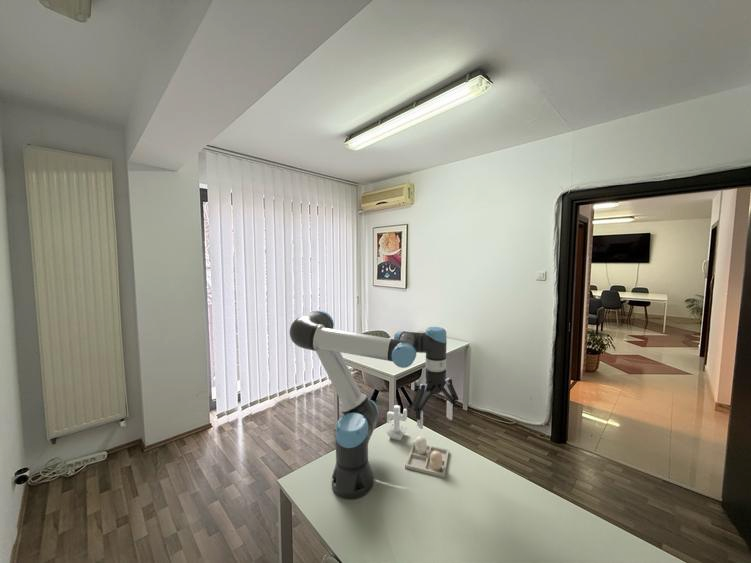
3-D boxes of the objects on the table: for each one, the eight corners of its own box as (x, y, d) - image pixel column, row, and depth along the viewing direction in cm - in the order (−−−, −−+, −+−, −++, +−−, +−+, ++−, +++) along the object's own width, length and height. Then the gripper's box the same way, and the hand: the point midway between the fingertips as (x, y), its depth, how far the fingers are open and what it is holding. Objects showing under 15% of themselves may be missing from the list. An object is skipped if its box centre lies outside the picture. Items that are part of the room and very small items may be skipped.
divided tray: (404, 469, 113) (404, 465, 113) (413, 446, 127) (413, 441, 127) (444, 479, 108) (444, 474, 108) (448, 454, 122) (448, 449, 122)
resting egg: (414, 454, 121) (414, 439, 120) (416, 447, 125) (416, 432, 124) (425, 457, 119) (425, 441, 118) (427, 450, 123) (427, 434, 123)
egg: (429, 471, 111) (429, 454, 111) (431, 463, 116) (431, 446, 115) (441, 474, 110) (441, 456, 109) (443, 465, 114) (443, 449, 113)
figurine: (390, 431, 138) (389, 400, 137) (409, 435, 135) (409, 404, 133) (384, 439, 132) (384, 407, 131) (404, 444, 128) (404, 412, 127)
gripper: (412, 378, 101) (412, 436, 103) (468, 366, 112) (467, 419, 113) (401, 370, 108) (401, 425, 110) (455, 360, 119) (454, 410, 120)
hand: (435, 422), depth 112 cm, fingers open, 13 cm apart
